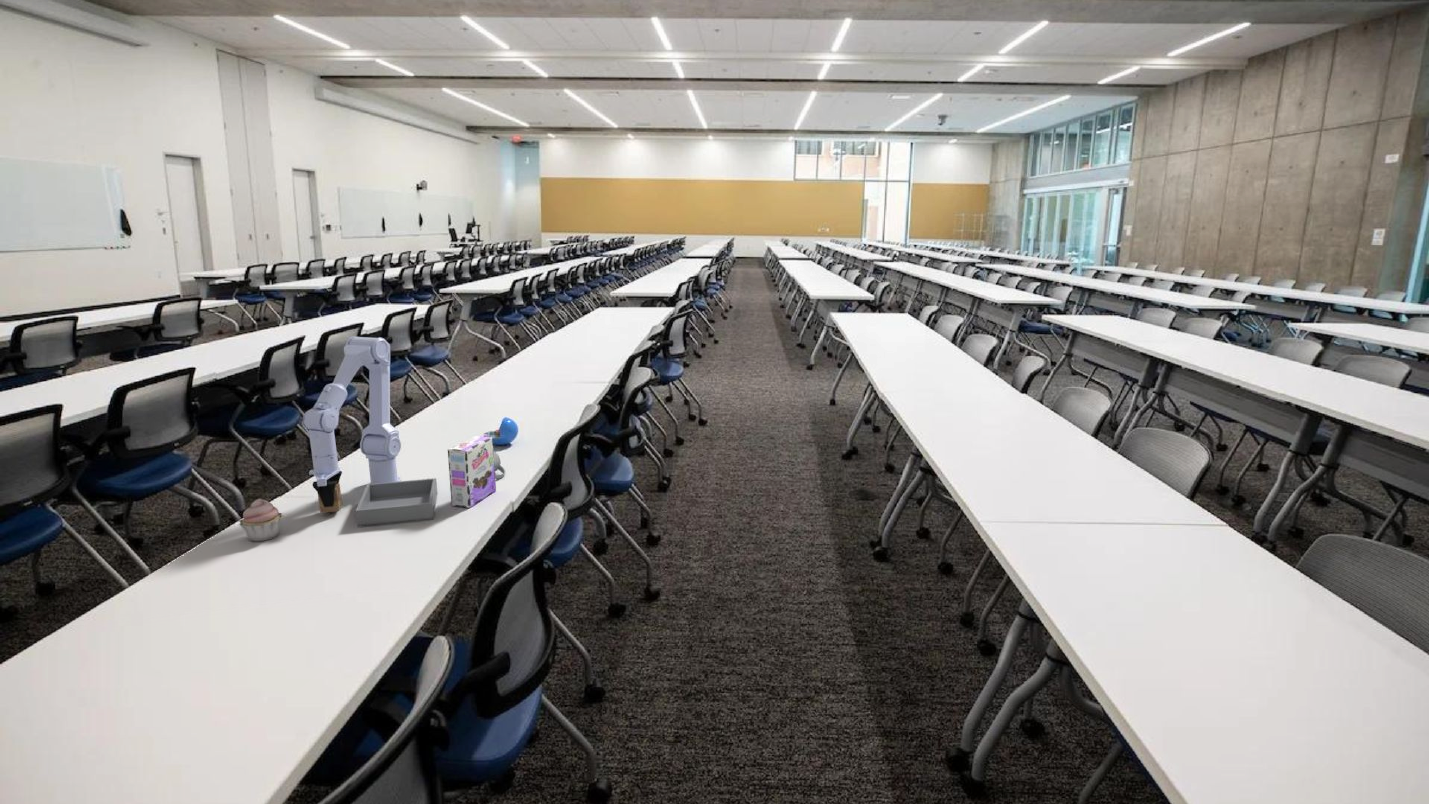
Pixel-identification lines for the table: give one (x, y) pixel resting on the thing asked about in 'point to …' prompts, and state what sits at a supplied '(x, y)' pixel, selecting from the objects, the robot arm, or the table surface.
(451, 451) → the candy box
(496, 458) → the ceramic mug
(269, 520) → the cupcake
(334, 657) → the table surface
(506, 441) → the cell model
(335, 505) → the walnut block
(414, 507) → the grey bin
